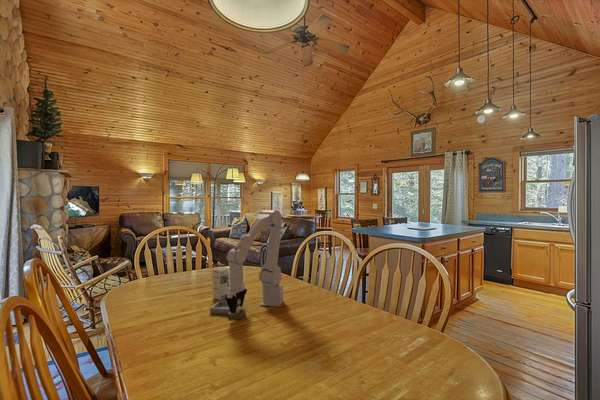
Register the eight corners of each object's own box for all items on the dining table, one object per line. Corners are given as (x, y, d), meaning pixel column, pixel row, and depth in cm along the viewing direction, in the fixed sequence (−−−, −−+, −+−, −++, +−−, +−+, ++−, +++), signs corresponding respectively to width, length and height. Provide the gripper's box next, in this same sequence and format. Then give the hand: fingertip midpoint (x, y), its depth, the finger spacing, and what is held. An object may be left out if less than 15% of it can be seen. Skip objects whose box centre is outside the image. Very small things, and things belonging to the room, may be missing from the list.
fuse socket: (245, 314, 133) (245, 309, 133) (240, 319, 127) (240, 314, 127) (233, 313, 134) (233, 308, 134) (227, 318, 128) (227, 313, 128)
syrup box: (220, 300, 151) (219, 270, 150) (212, 297, 154) (212, 269, 154) (229, 297, 155) (228, 268, 155) (221, 294, 159) (221, 266, 158)
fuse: (241, 314, 132) (241, 298, 132) (238, 317, 129) (238, 301, 129) (234, 314, 132) (234, 298, 132) (231, 317, 129) (231, 300, 129)
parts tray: (239, 307, 141) (239, 301, 141) (230, 315, 132) (230, 309, 132) (219, 305, 143) (219, 300, 143) (210, 313, 133) (210, 307, 133)
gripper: (234, 273, 138) (234, 303, 138) (219, 282, 124) (220, 315, 124) (249, 273, 137) (249, 304, 137) (236, 282, 123) (236, 316, 123)
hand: (236, 309), depth 130 cm, fingers open, 7 cm apart
